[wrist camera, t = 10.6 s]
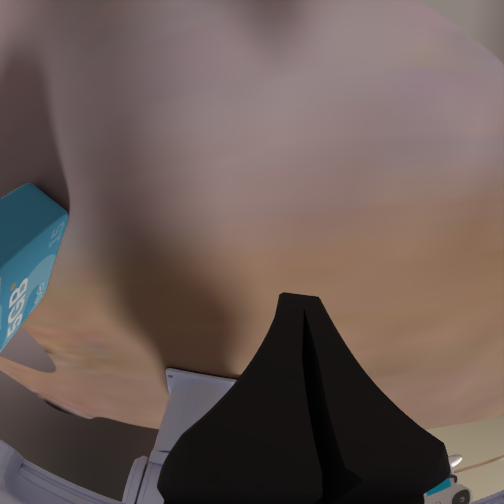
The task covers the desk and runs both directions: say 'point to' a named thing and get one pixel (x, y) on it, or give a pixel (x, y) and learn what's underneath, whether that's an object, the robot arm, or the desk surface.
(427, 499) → the panda figurine
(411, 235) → the desk surface
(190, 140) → the desk surface
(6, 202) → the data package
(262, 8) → the desk surface
